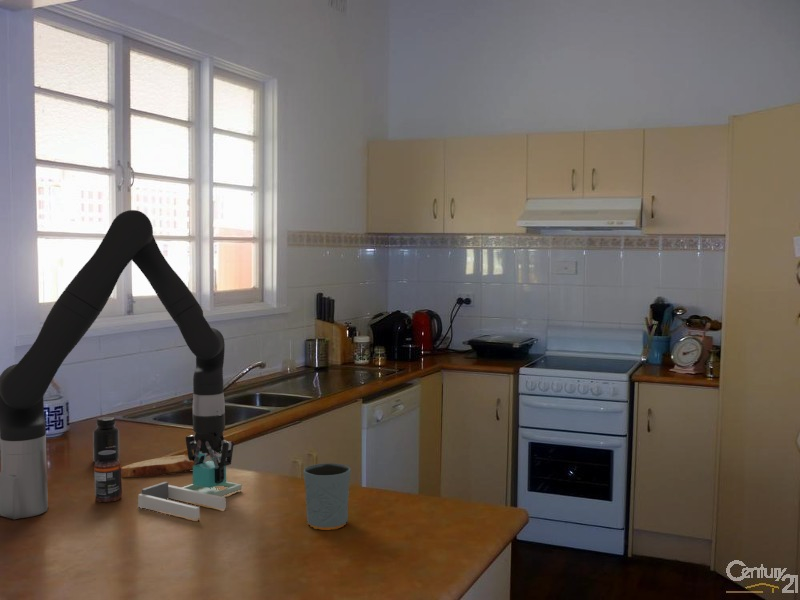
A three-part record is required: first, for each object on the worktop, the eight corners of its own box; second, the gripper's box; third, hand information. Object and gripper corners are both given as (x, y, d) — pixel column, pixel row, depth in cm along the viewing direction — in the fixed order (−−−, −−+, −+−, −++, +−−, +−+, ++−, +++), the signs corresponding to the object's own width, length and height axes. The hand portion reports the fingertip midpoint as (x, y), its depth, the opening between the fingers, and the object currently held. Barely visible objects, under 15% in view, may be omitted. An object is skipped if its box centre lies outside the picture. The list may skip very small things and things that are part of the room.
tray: (209, 503, 183) (209, 495, 183) (177, 496, 189) (177, 488, 189) (241, 491, 192) (241, 484, 192) (210, 484, 198) (210, 477, 198)
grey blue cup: (307, 533, 164) (307, 476, 163) (300, 517, 174) (300, 464, 173) (355, 529, 167) (355, 473, 166) (345, 513, 176) (345, 460, 175)
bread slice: (111, 477, 206) (110, 463, 206) (156, 460, 222) (156, 447, 222) (167, 484, 199) (167, 470, 199) (210, 466, 216) (209, 453, 215)
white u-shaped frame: (196, 522, 171) (195, 504, 170) (138, 507, 180) (138, 490, 180) (225, 510, 178) (225, 493, 178) (168, 497, 188) (168, 480, 188)
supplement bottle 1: (110, 464, 216) (109, 421, 216) (88, 463, 218) (87, 420, 217) (124, 458, 223) (123, 416, 222) (102, 456, 224) (101, 415, 224)
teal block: (209, 488, 187) (209, 469, 186) (192, 484, 189) (192, 465, 189) (226, 482, 191) (225, 464, 191) (209, 478, 194) (209, 460, 194)
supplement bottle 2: (110, 493, 191) (109, 447, 190) (127, 497, 188) (126, 450, 187) (89, 500, 185) (88, 453, 185) (106, 504, 182) (105, 456, 182)
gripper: (175, 411, 190) (177, 480, 191) (219, 417, 182) (220, 489, 183) (198, 405, 196) (200, 472, 197) (242, 412, 189) (243, 481, 190)
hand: (210, 480), depth 190 cm, fingers closed on teal block, 5 cm apart
